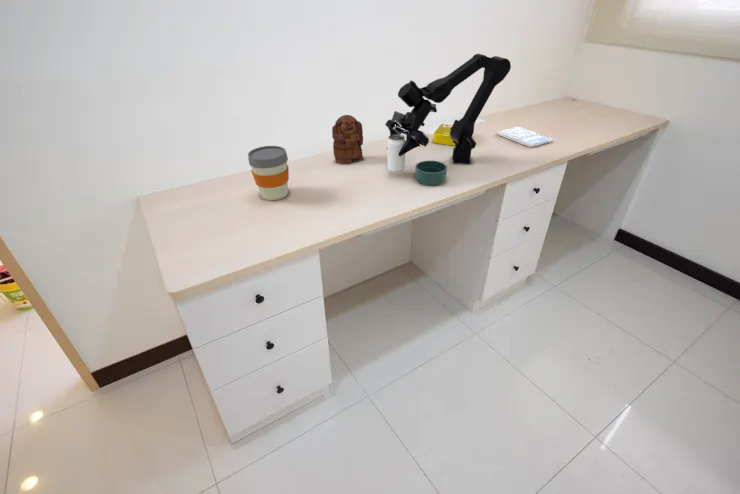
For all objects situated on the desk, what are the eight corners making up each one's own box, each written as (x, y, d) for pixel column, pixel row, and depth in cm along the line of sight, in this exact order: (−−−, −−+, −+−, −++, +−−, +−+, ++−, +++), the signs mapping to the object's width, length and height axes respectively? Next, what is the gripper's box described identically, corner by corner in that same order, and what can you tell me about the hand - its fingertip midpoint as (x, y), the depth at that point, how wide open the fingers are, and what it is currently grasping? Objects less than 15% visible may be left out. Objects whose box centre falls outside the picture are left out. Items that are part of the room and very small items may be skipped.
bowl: (445, 173, 140) (447, 161, 137) (445, 187, 131) (447, 174, 128) (415, 172, 142) (416, 159, 139) (413, 185, 133) (414, 172, 130)
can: (403, 173, 135) (404, 140, 128) (386, 171, 136) (386, 139, 129) (405, 165, 140) (406, 134, 133) (388, 164, 141) (388, 133, 134)
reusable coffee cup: (275, 206, 122) (267, 163, 113) (248, 197, 128) (238, 155, 119) (300, 190, 131) (294, 149, 122) (274, 183, 136) (266, 143, 127)
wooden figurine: (340, 166, 147) (337, 120, 137) (333, 160, 152) (329, 116, 141) (366, 159, 152) (364, 115, 142) (358, 154, 157) (356, 111, 146)
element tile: (432, 143, 166) (433, 132, 164) (440, 132, 178) (441, 122, 175) (466, 147, 162) (467, 136, 159) (472, 136, 173) (473, 125, 170)
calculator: (517, 129, 179) (518, 125, 178) (552, 142, 165) (553, 138, 164) (496, 134, 174) (497, 130, 173) (531, 148, 160) (532, 143, 158)
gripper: (389, 96, 133) (364, 133, 134) (424, 107, 120) (397, 148, 122) (405, 114, 141) (382, 149, 142) (440, 126, 128) (414, 165, 130)
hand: (393, 152), depth 134 cm, fingers closed on can, 6 cm apart
